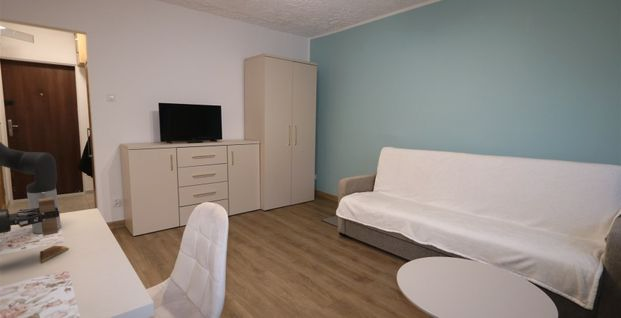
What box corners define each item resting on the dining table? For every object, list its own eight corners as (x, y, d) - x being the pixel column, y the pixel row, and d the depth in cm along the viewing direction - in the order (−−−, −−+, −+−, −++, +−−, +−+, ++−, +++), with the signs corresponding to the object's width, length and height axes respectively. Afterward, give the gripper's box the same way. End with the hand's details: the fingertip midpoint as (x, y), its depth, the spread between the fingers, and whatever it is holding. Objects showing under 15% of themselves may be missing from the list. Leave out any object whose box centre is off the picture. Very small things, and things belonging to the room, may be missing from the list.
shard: (41, 265, 103) (40, 260, 103) (21, 264, 104) (20, 259, 104) (70, 250, 114) (69, 246, 113) (51, 249, 115) (51, 245, 114)
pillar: (42, 232, 108) (38, 199, 106) (57, 229, 111) (53, 197, 109) (43, 236, 105) (38, 201, 104) (58, 232, 108) (54, 199, 106)
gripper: (-15, 217, 92) (59, 205, 103) (-12, 206, 102) (55, 197, 114) (-11, 241, 93) (61, 227, 105) (-9, 228, 103) (57, 216, 115)
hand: (58, 211), depth 109 cm, fingers closed on pillar, 4 cm apart
